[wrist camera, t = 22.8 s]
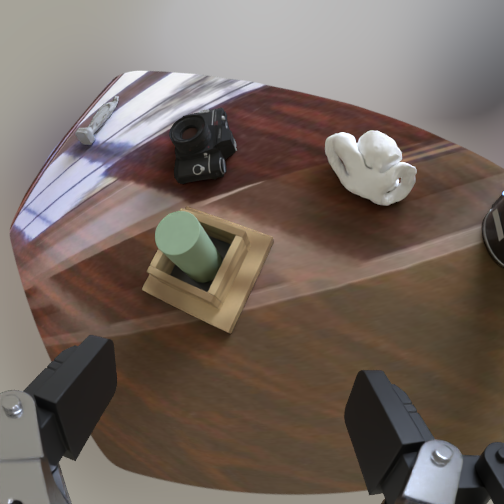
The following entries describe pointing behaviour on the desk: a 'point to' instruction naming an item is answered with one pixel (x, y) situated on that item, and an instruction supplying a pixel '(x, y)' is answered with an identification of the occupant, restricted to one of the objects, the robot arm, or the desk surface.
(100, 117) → the figurine
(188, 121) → the film camera
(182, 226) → the green tall cylinder
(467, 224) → the desk surface
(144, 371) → the desk surface
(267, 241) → the display stand
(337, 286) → the desk surface
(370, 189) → the white looped sculpture
